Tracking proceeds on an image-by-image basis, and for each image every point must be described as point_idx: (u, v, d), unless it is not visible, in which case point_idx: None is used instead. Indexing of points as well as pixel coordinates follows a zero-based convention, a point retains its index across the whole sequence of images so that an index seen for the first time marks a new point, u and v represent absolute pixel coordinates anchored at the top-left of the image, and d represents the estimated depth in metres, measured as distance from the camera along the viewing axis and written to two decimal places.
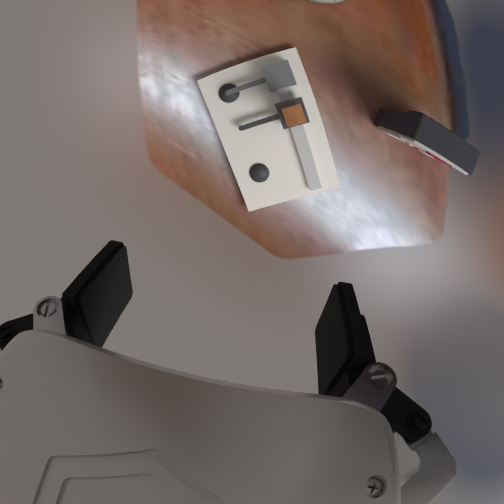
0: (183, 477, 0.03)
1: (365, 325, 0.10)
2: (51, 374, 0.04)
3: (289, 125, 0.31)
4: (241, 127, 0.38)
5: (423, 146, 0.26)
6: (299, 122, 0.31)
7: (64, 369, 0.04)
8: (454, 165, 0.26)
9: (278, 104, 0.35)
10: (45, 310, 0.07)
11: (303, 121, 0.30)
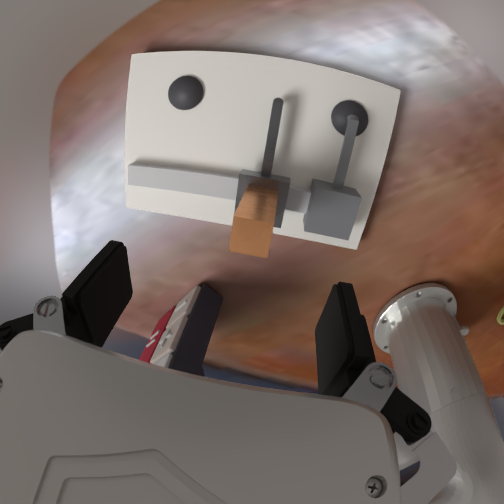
0: (183, 477, 0.03)
1: (365, 325, 0.10)
2: (51, 374, 0.04)
3: (235, 220, 0.16)
4: (279, 104, 0.19)
5: None
6: (233, 239, 0.17)
7: (64, 369, 0.04)
8: None
9: (286, 188, 0.21)
10: (45, 310, 0.07)
11: (232, 247, 0.17)
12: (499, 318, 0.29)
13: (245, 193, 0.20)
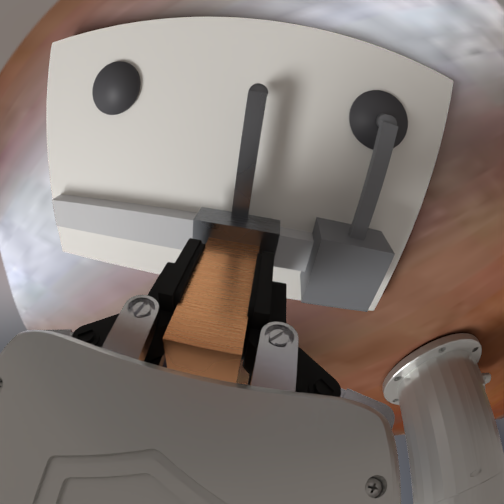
0: (183, 477, 0.03)
1: (285, 292, 0.11)
2: (51, 374, 0.04)
3: (168, 345, 0.08)
4: (259, 94, 0.10)
5: None
6: (172, 367, 0.08)
7: (64, 369, 0.04)
8: None
9: (273, 243, 0.13)
10: (138, 310, 0.08)
11: None
12: None
13: (199, 262, 0.11)
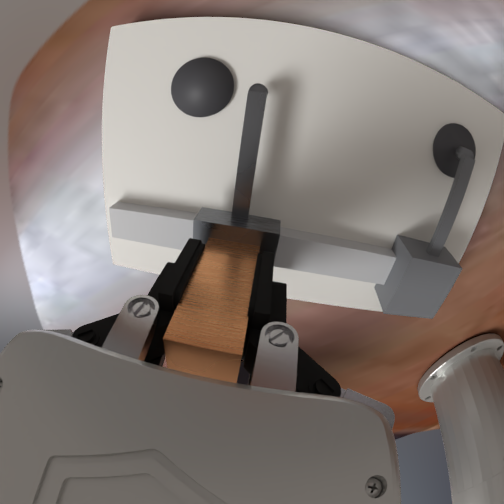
0: (183, 477, 0.03)
1: (286, 292, 0.11)
2: (51, 374, 0.04)
3: (169, 345, 0.08)
4: (259, 95, 0.10)
5: None
6: (173, 367, 0.08)
7: (64, 369, 0.04)
8: None
9: (273, 243, 0.13)
10: (138, 310, 0.08)
11: None
12: None
13: (199, 262, 0.11)
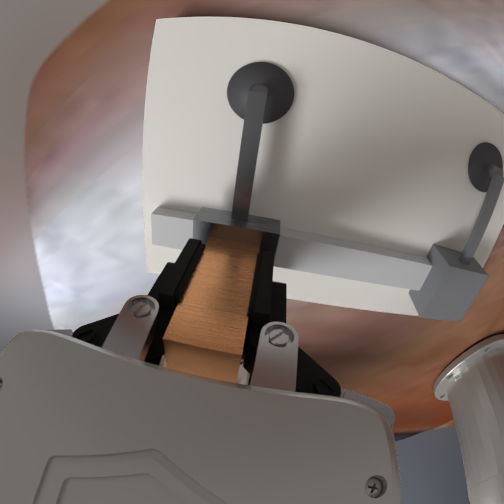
0: (183, 477, 0.03)
1: (286, 292, 0.11)
2: (51, 374, 0.04)
3: (168, 345, 0.08)
4: (260, 94, 0.10)
5: None
6: (172, 367, 0.08)
7: (64, 369, 0.04)
8: None
9: (273, 243, 0.13)
10: (138, 310, 0.08)
11: None
12: None
13: (199, 262, 0.11)
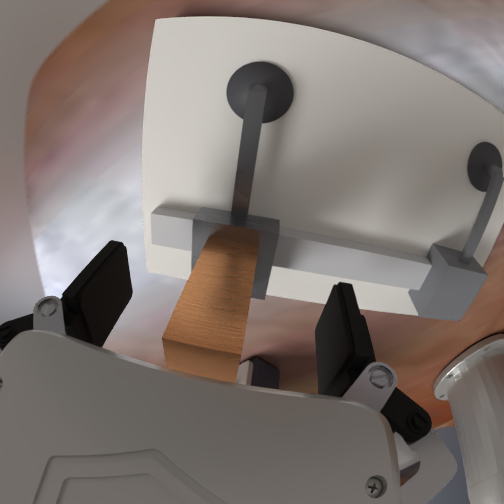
0: (183, 477, 0.03)
1: (365, 325, 0.10)
2: (51, 374, 0.04)
3: (168, 344, 0.08)
4: (259, 94, 0.10)
5: None
6: (172, 367, 0.08)
7: (64, 369, 0.04)
8: None
9: (272, 243, 0.13)
10: (45, 310, 0.07)
11: None
12: None
13: (199, 261, 0.11)
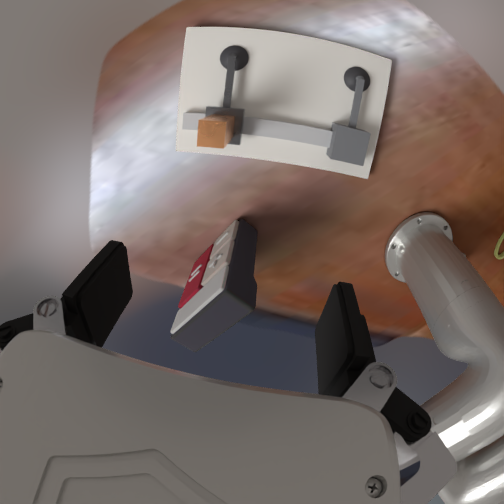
0: (183, 477, 0.03)
1: (366, 325, 0.10)
2: (51, 374, 0.04)
3: (200, 123, 0.21)
4: (233, 57, 0.24)
5: (213, 297, 0.26)
6: (199, 137, 0.22)
7: (64, 369, 0.04)
8: (183, 323, 0.29)
9: (241, 113, 0.26)
10: (45, 310, 0.07)
11: (199, 142, 0.22)
12: (496, 254, 0.37)
13: (209, 115, 0.25)
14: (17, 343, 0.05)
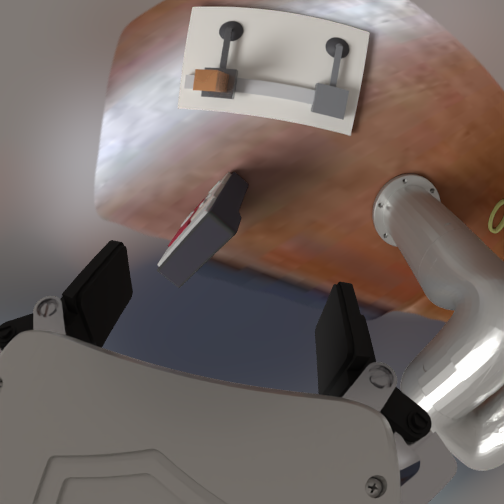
0: (183, 477, 0.03)
1: (365, 325, 0.10)
2: (51, 374, 0.04)
3: (196, 71, 0.23)
4: (229, 29, 0.26)
5: (197, 220, 0.28)
6: (195, 82, 0.24)
7: (64, 369, 0.04)
8: (169, 252, 0.31)
9: (234, 73, 0.28)
10: (45, 310, 0.07)
11: (194, 87, 0.24)
12: (490, 228, 0.37)
13: None
14: (17, 343, 0.05)
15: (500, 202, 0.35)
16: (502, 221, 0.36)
